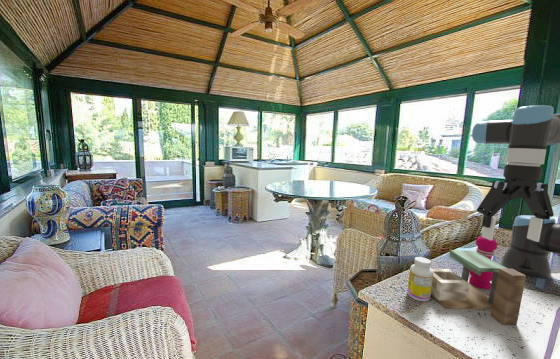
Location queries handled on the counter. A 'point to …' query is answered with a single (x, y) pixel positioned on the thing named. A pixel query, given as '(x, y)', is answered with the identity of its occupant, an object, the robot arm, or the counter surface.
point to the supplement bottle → (420, 279)
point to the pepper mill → (487, 250)
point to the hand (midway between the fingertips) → (509, 239)
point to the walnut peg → (508, 296)
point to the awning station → (464, 282)
